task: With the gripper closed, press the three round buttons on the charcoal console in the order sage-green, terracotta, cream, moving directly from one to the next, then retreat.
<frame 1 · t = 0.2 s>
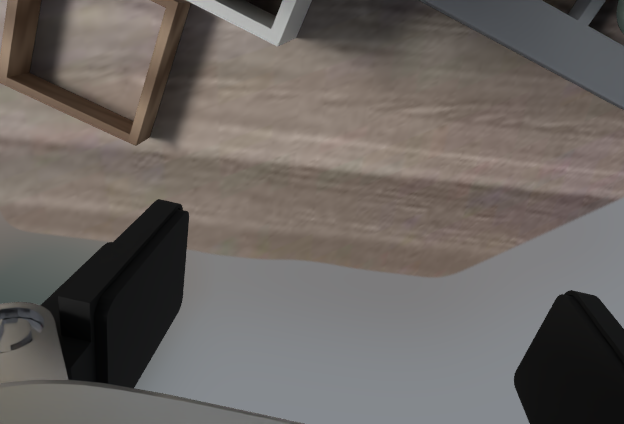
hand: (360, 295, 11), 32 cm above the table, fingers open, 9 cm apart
walnut deck tray: (101, 41, 40), on the table
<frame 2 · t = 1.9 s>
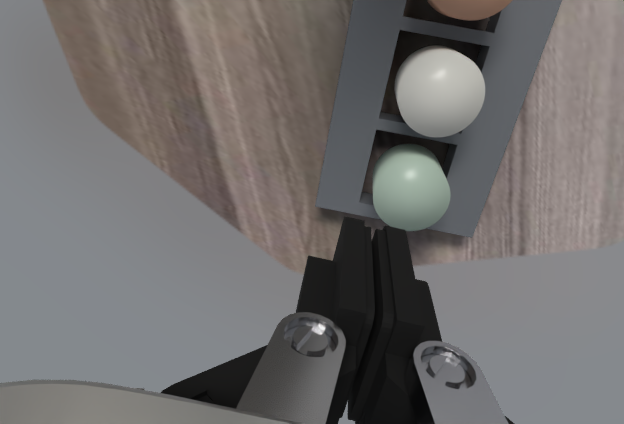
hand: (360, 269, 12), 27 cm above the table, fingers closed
console: (427, 78, 35), on the table
cream button: (436, 90, 31), point 5 cm above the table, slide at 0.0 cm
sage button: (408, 186, 34), point 5 cm above the table, slide at 0.0 cm
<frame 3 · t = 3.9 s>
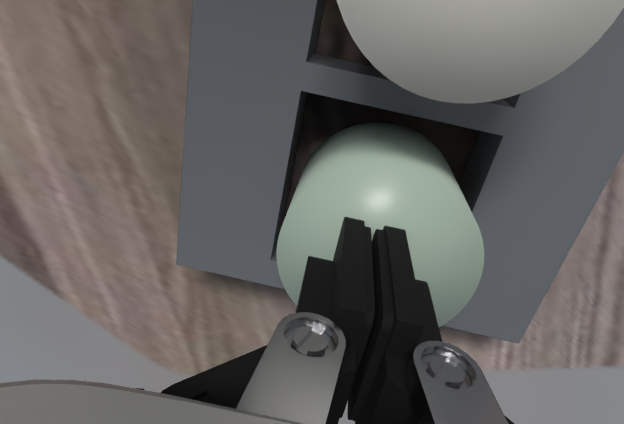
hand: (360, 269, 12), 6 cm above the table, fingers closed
sage button: (375, 226, 14), point 4 cm above the table, slide at -0.8 cm, touching gripper
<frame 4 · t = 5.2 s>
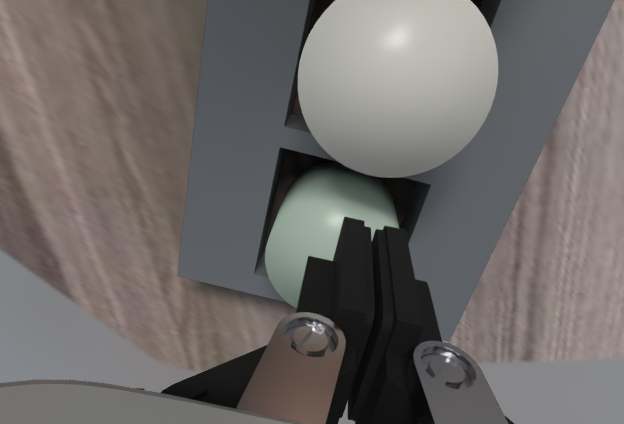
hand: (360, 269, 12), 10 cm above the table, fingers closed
console: (381, 57, 19), on the table
cream button: (389, 74, 14), point 5 cm above the table, slide at 0.0 cm
sage button: (336, 237, 20), point 3 cm above the table, slide at -2.0 cm
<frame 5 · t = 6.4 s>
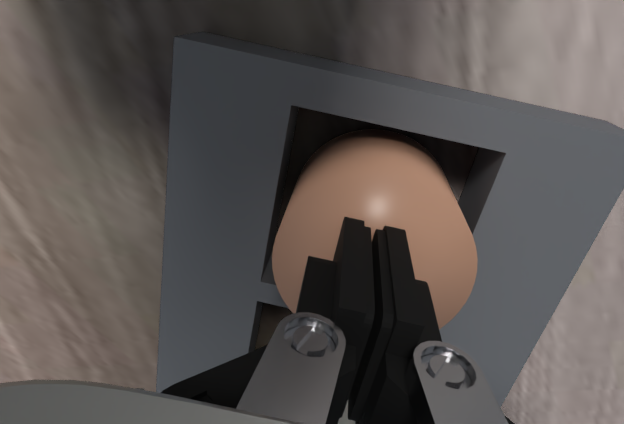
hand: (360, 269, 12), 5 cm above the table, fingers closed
terracotta button: (370, 232, 14), point 3 cm above the table, slide at -1.9 cm, touching gripper
console: (329, 340, 20), on the table
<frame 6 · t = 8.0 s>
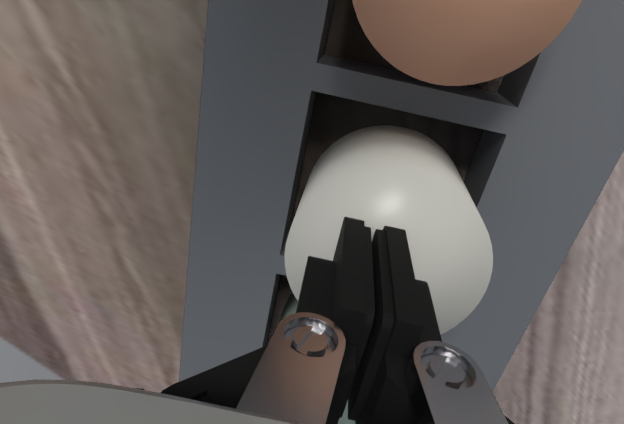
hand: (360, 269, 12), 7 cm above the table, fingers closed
console: (380, 176, 18), on the table
cream button: (383, 229, 14), point 5 cm above the table, slide at -0.3 cm, touching gripper
sage button: (336, 359, 19), point 3 cm above the table, slide at -2.0 cm
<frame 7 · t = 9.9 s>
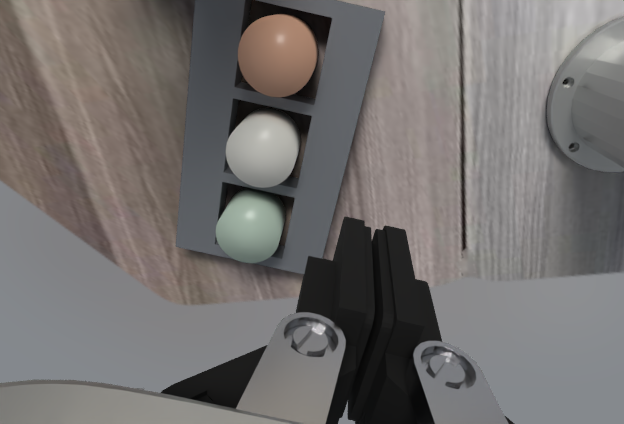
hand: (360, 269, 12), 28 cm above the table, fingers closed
terracotta button: (280, 54, 33), point 3 cm above the table, slide at -2.0 cm
console: (270, 137, 39), on the table
cream button: (265, 146, 37), point 3 cm above the table, slide at -2.0 cm
sage button: (252, 224, 40), point 3 cm above the table, slide at -2.0 cm
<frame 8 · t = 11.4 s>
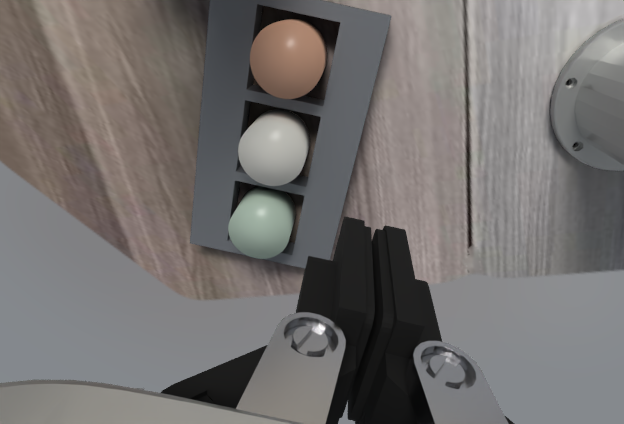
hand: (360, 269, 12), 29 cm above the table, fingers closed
terracotta button: (290, 58, 35), point 3 cm above the table, slide at -2.0 cm
console: (281, 137, 41), on the table
cream button: (275, 146, 38), point 3 cm above the table, slide at -2.0 cm
sage button: (263, 221, 41), point 3 cm above the table, slide at -2.0 cm
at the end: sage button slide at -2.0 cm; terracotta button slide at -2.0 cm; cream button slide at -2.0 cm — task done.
